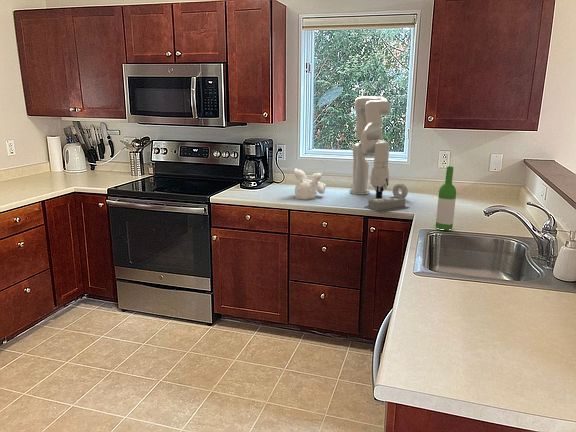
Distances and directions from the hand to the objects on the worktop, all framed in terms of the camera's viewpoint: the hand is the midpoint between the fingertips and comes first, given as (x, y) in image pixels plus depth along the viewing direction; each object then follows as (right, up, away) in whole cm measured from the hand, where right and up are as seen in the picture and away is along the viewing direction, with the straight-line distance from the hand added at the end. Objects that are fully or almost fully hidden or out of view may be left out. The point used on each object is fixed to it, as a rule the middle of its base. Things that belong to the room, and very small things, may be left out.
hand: (378, 198), depth 264 cm
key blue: (+5, -3, +5) cm, 8 cm away
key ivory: (0, -4, +1) cm, 4 cm away
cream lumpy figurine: (-37, +2, +30) cm, 47 cm away
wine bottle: (+24, -16, -34) cm, 45 cm away
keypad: (+5, -5, +5) cm, 9 cm away
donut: (+17, 0, +25) cm, 31 cm away
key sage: (+11, -3, +9) cm, 14 cm away
